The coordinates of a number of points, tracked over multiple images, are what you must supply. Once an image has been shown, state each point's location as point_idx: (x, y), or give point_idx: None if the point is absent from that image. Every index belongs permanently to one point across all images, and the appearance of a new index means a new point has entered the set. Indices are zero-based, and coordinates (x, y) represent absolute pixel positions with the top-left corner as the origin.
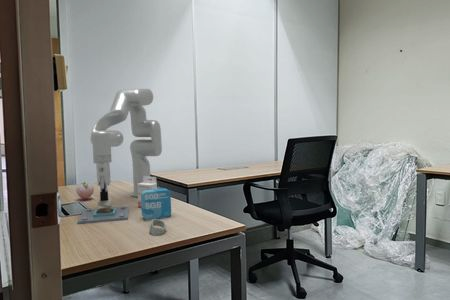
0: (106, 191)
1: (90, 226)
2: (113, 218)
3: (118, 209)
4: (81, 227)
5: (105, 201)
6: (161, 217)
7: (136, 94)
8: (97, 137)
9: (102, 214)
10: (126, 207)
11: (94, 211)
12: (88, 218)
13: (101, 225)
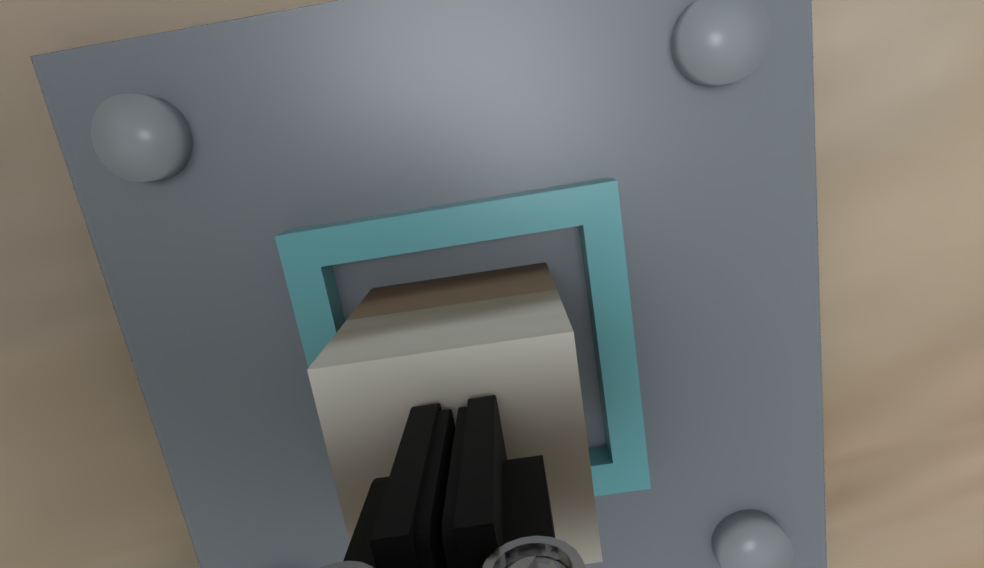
0: (573, 553)
1: (969, 401)
2: (805, 159)
3: (244, 200)
4: (975, 491)
5: (581, 419)
6: None
7: None
8: None
9: (635, 364)
10: (109, 84)
11: (337, 527)
12: (706, 508)
13: (973, 275)
